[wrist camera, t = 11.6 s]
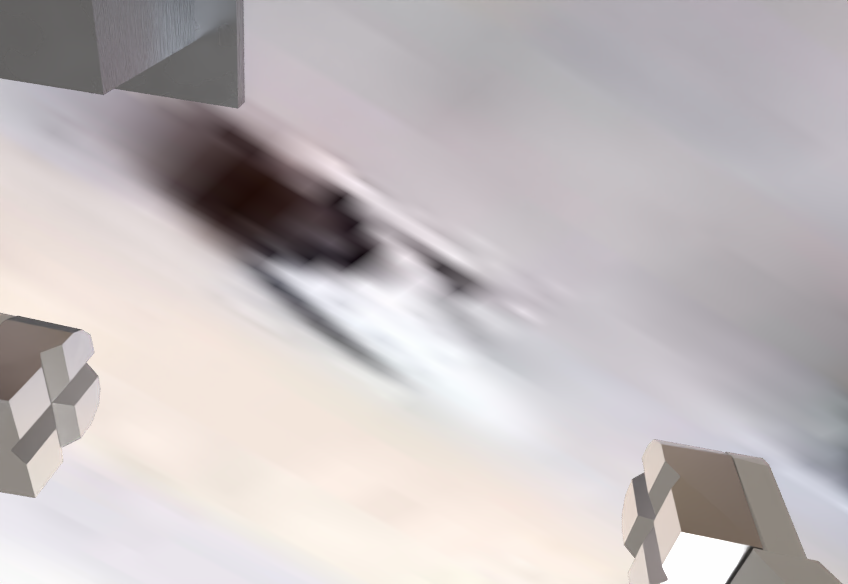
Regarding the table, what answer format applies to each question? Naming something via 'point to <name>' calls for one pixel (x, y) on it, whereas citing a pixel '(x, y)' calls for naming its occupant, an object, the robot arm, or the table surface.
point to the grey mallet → (127, 47)
